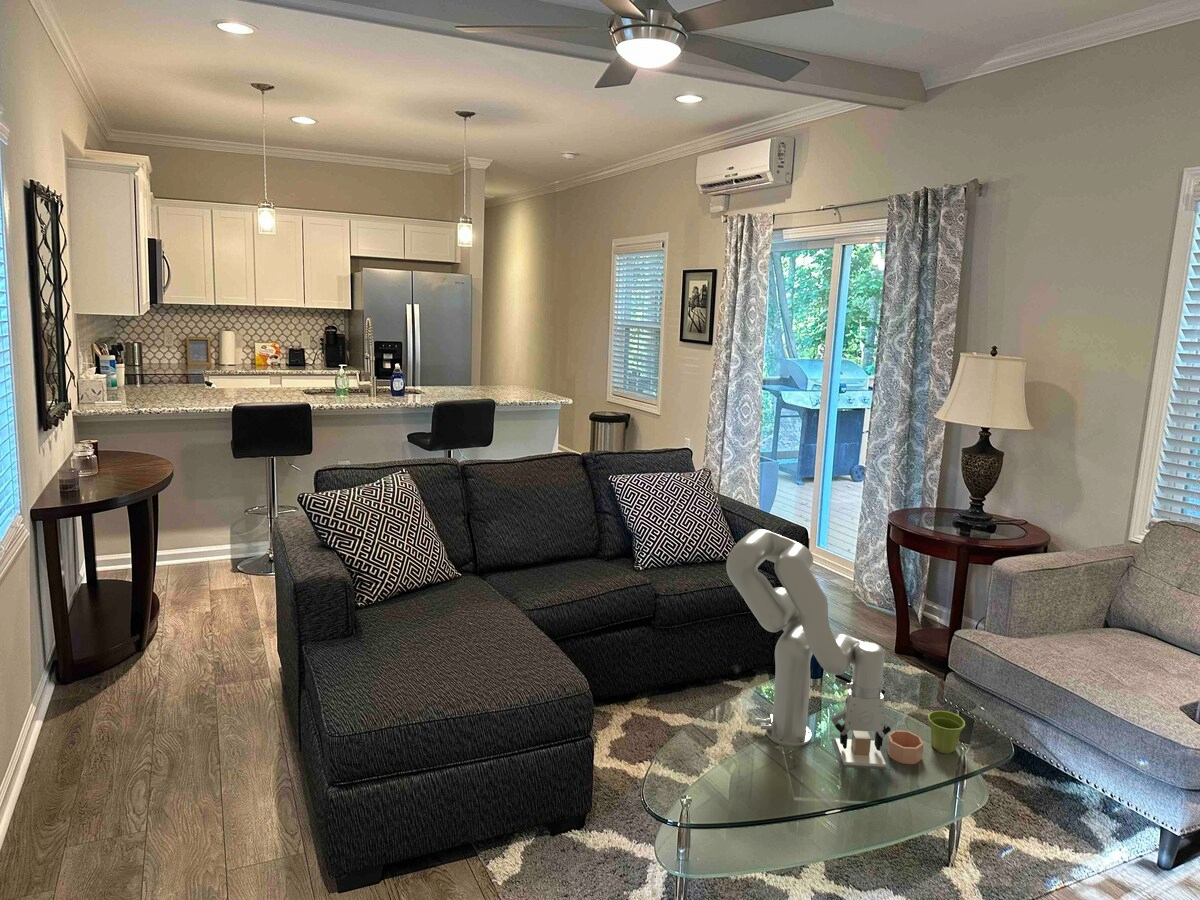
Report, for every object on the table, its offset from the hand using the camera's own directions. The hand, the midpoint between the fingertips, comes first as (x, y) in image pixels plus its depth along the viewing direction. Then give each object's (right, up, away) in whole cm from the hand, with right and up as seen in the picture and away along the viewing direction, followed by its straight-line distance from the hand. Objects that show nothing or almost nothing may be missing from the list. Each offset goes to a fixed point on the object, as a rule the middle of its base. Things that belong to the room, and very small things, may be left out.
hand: (860, 746), depth 228 cm
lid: (0, -2, +1) cm, 2 cm away
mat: (0, -3, +1) cm, 3 cm away
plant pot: (+24, -2, +5) cm, 25 cm away
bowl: (+12, -3, +1) cm, 12 cm away
